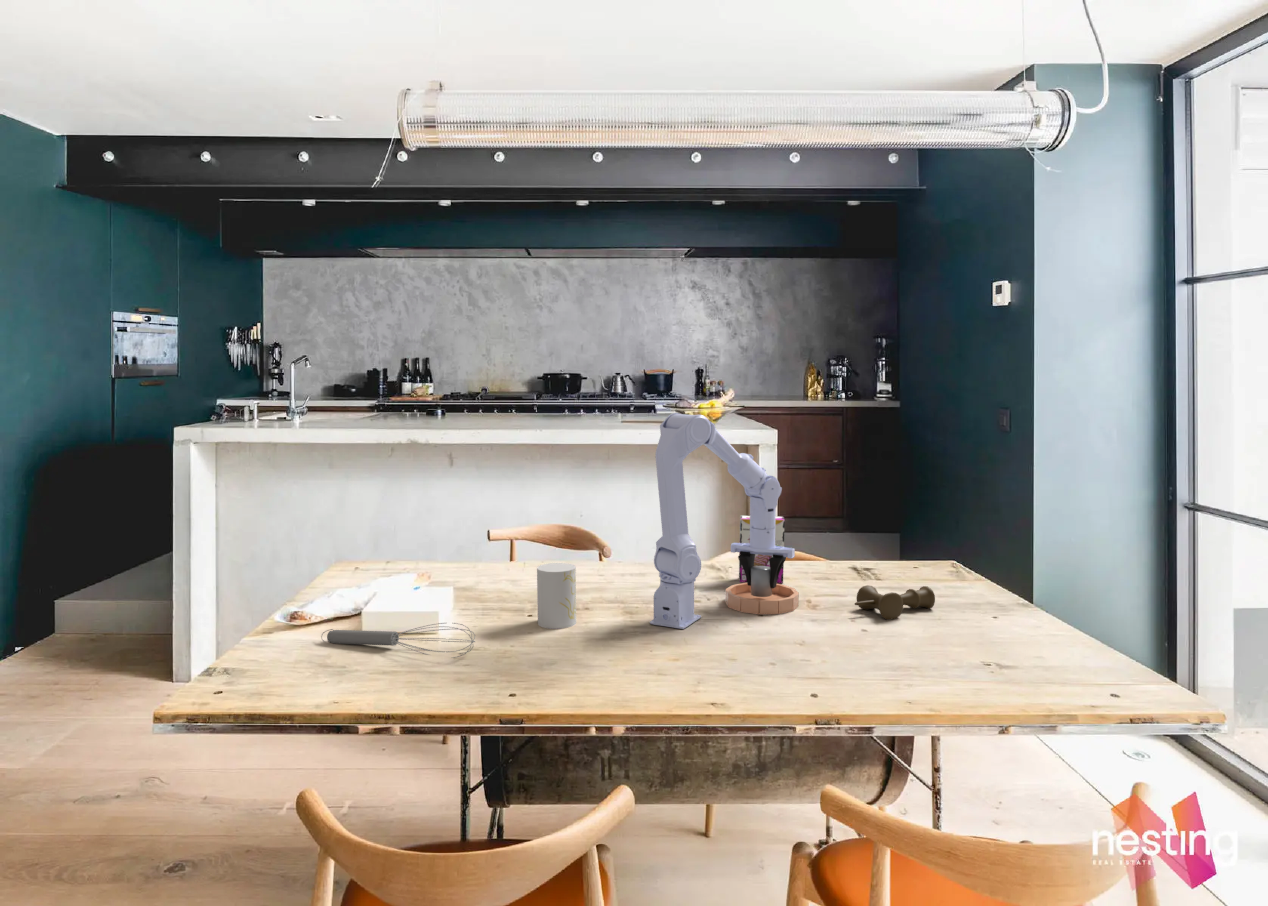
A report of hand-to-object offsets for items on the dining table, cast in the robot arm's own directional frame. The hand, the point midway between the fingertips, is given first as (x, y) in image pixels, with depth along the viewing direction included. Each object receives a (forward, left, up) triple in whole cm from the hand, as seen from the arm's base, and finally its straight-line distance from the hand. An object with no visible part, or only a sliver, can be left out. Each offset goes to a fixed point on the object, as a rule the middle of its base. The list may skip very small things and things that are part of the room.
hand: (761, 586), depth 189 cm
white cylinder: (-33, +34, -4) cm, 48 cm away
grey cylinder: (0, 0, -2) cm, 2 cm away
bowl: (0, 0, -4) cm, 4 cm away
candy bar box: (+20, +7, -4) cm, 22 cm away
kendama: (+7, -28, -5) cm, 29 cm away
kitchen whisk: (-61, +52, -5) cm, 81 cm away
